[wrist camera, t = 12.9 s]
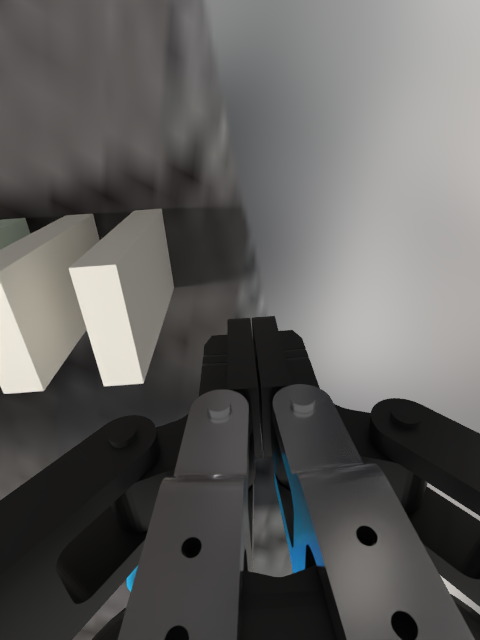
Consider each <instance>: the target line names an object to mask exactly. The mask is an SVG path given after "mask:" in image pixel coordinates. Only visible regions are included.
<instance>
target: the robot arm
mask: <svg viewBox="0 0 480 640" xmlns="http://www.w3.org/2000/svg"><path fill="white" fill-rule="evenodd" d="M252 331H253V338H252ZM260 423H261V432H262V441H263V451H264V457H273V463H274V478H275V488H276V492H277V497H278V502H279V506H280V511H281V515H282V520H283V524H284V529H285V534H286V538H287V543H288V547H289V552H290V557H291V563H292V570H293V574H290V575H288V576H285V577H272V576H268V575H263V574H259V573H254V572H253V539H254V479H255V476H256V467H255V458H262V453H261V433H260ZM427 483H429V484H431V485H432V486H434V487H436V488H437V489H439V490H440V491H442V492H443V493H445V494H447V495H448V496H450V497H451V498H453V499H454V500H456V501H458V502H459V503H461V504H462V505H464V506H465V507H467V508H469V509H470V510H471V511H473V512H475V513H476V514H478V515H479V516H480V434H479V433H477V432H475V431H473V430H471V429H469V428H467V427H465V426H463V425H461V424H459V423H457V422H455V421H453V420H451V419H449V418H447V417H445V416H443V415H441V414H439V413H437V412H435V411H433V410H431V409H429V408H427V407H425V406H423V405H421V404H418V403H416V402H413V401H410V400H406V399H395V398H393V399H386V400H383V401H380V402H378V403H377V404H376V405H375V406H374V407H373V409H372V411H371V413H367V412H361V411H355V410H349V409H345V408H342V407H340V406H337V405H335V404H334V403H333V401H332V400H331V398H330V396H329V395H328V394H327V393H326V392H324V391H323V390H321V389H320V388H319V385H318V382H317V380H316V377H315V374H314V371H313V368H312V365H311V362H310V360H309V358H308V354H307V351H306V350H305V346H304V343H303V340H302V338H301V337H300V336H299V335H298V334H296V333H295V332H294V331H293V330H288V331H278V328H277V324H276V320H275V316H269V317H255V318H252V330H251V321H250V318H242V319H228V335H216V336H212V337H211V338H210V339H209V340H208V341H207V343H206V344H205V346H204V357H203V366H202V374H201V383H200V392H199V397H198V398H197V399H196V400H195V401H194V402H193V403H192V405H191V407H190V410H189V414H188V415H186V416H185V417H183V418H182V419H180V420H178V421H175V422H172V423H169V424H166V425H163V426H160V427H157V428H156V427H155V425H154V423H153V422H152V421H151V420H150V419H148V418H146V417H143V416H137V415H132V416H125V417H121V418H118V419H115V420H113V421H111V422H109V423H108V424H106V425H104V426H103V427H102V428H100V429H99V430H98V431H96V432H95V433H93V434H92V435H91V436H89V437H88V438H86V439H85V440H84V441H82V442H81V443H80V444H78V445H77V446H75V447H74V448H73V449H71V450H70V451H68V452H67V453H66V454H64V455H63V456H61V457H60V458H59V459H57V460H56V461H55V462H53V463H52V464H50V465H49V466H48V467H46V468H45V469H43V470H42V471H41V472H39V473H38V474H36V475H35V476H34V477H32V478H31V479H30V480H28V481H27V482H25V483H24V484H23V485H21V486H20V487H18V488H17V489H16V490H14V491H13V492H12V493H10V494H9V495H7V496H6V497H5V498H3V499H2V500H0V640H72V639H73V638H74V637H75V636H76V635H77V633H78V632H79V631H80V630H81V629H82V628H83V627H84V626H85V624H86V623H87V622H88V621H89V620H90V619H91V618H92V617H93V615H94V614H95V613H96V612H97V611H98V610H99V609H100V608H101V606H102V605H103V604H104V603H105V602H106V601H107V600H108V599H109V597H110V596H111V595H112V594H113V593H114V592H115V591H116V590H117V589H118V587H119V586H120V585H121V584H122V583H123V582H124V581H125V580H126V578H127V577H128V576H129V575H130V574H131V573H132V572H133V571H134V569H135V568H136V567H137V566H138V568H137V571H136V575H135V578H134V582H133V586H132V589H131V593H130V597H129V600H128V604H127V607H126V608H124V609H123V610H122V611H121V612H120V613H118V614H117V615H116V616H115V617H114V618H112V619H111V620H110V621H109V622H108V623H107V624H106V625H105V626H104V627H103V628H102V629H101V630H100V631H99V632H98V633H97V634H96V635H95V637H94V638H93V639H92V640H480V615H479V614H478V613H477V612H476V611H474V610H473V609H472V608H471V607H469V606H468V605H466V604H465V603H464V602H462V601H461V600H459V599H458V598H456V597H455V596H453V595H451V594H450V593H449V591H448V589H447V588H446V586H445V584H444V582H443V580H442V578H441V577H440V575H441V576H442V577H443V578H445V579H446V580H447V581H449V582H450V583H451V584H452V585H453V586H455V587H456V588H457V589H458V590H460V591H461V592H462V593H463V594H465V595H466V596H467V597H468V598H470V599H471V600H472V601H473V602H475V603H476V604H477V605H478V606H480V521H479V520H477V519H476V518H474V517H473V516H471V515H470V514H468V513H467V512H465V511H464V510H462V509H460V508H459V507H457V506H456V505H454V504H453V503H451V502H450V501H448V500H447V499H445V498H444V497H442V496H440V495H439V494H437V493H436V492H434V491H433V490H431V489H430V488H428V487H427ZM439 574H440V575H439Z"/></svg>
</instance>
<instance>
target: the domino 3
mask: <svg viewBox="0 0 480 640" xmlns="http://www.w3.org/2000/svg"><path fill="white" fill-rule="evenodd" d="M69 272H70V275H71V278H72V282H73V285H74V289H75V292H76V295H77V299H78V302H79V305H80V309H81V312H82V315H83V319H84V322H85V325H86V329H87V332H88V335H89V339H90V342H91V345H92V349H93V352H94V355H95V359H96V362H97V365H98V369H99V372H100V375H101V379H102V382H103V385H104V386H117V385H130V384H144V381H145V378H146V375H147V372H148V368H149V365H150V362H151V359H152V356H153V353H154V350H155V346H156V343H157V340H158V337H159V334H160V331H161V328H162V324H163V321H164V318H165V315H166V312H167V309H168V306H169V302H170V299H171V296H172V293H173V290H174V284H173V277H172V271H171V265H170V259H169V252H168V246H167V240H166V233H165V227H164V221H163V215H162V209H149V210H135V211H133V212H132V213H131V214H130V215H128V216H127V217H126V218H125V219H124V220H123V221H122V222H120V223H119V224H118V225H117V226H116V227H115V228H114V229H112V230H111V231H110V232H109V233H108V234H107V235H106V236H104V237H103V238H102V239H101V240H100V241H99V242H98V243H96V244H95V245H94V246H93V247H92V248H91V249H90V250H88V251H87V252H86V253H85V254H84V255H83V256H82V257H80V258H79V259H78V260H77V261H76V262H75V263H73V264H72V265H71V266H70V267H69Z"/></svg>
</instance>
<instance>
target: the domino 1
mask: <svg viewBox="0 0 480 640" xmlns="http://www.w3.org/2000/svg"><path fill="white" fill-rule="evenodd" d="M29 234H30V231H29V228H28V225H27V222H26V219H25V218H16V219H3V220H0V250H1V249H3V248H5V247H6V246H8V245H10V244H12V243H14V242H16V241H18V240H20V239H22V238H24V237H25V236H27V235H29Z"/></svg>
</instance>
